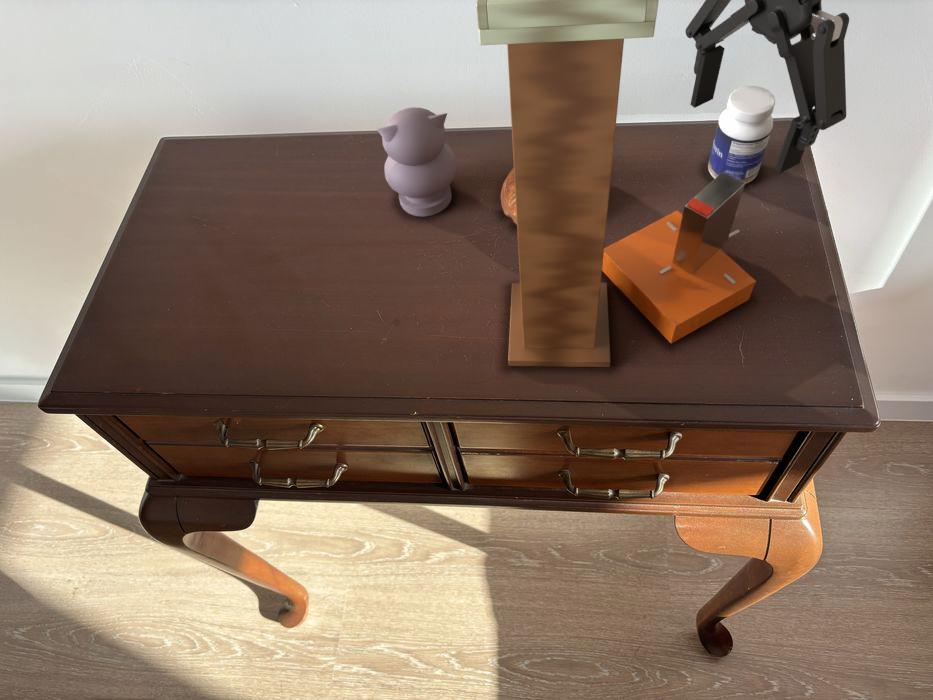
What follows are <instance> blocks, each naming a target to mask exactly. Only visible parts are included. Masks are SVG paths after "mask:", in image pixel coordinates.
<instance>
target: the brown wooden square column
mask: <svg viewBox="0 0 933 700" xmlns="http://www.w3.org/2000/svg"><path fill="white" fill-rule="evenodd" d="M475 7H476V17H477V28H478V40H479V45H480V46H497V45H498V46H499V45H506V47H507V49H506V50H507V66H508V67H507V68H508V84H509V85H508V86H509V105H510V116H511V117H510V121H511V122H510V123H511V139H512V156H513V157H512V158H513V168H514V178H515V197H516V215H517V225H516V228H517V229H516V231H517V232H516V233H517V248H518V251H517V252H518V268H519V269H518V270H519V282H512V283H511V299H510V315H509V316H510V321H509V334H508V335H509V337H508V338H509V339H508V357H507V363H508V366H509V367H567V368H568V367H569V368H570V367H573V368H574V367H575V368H578V367H579V368H589V367H590V368H610V367H611V344H610V343H611V341H610V322H609V301H608V300H609V298H608V282H602V275H603V274H602V273H603V271H602V265H603V255H604V248H605V245H606V244H605V243H606V234H607V233H606V232H607V222H608V211H609V202H610V201H609V200H610V191H611V182H612V181H611V180H612V170H613V161H614V160H613V159H614V150H615V149H614V148H615V138H616V137H615V136H616V127H617V118H618V108H619V107H618V106H619V95H620V85H621V75H622V63H623V55H624V54H623V53H624V43H625V40H626V39H645V38H646V39H647V38H653V37H654V36H655V31H656V22H657V16H658V9H659V0H476V5H475Z"/></svg>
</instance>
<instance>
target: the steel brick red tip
mask: <svg viewBox="0 0 933 700" xmlns="http://www.w3.org/2000/svg"><path fill="white" fill-rule="evenodd" d="M745 185H746V184H745V183H743V182H741V181H739V180H737V179H736V178H734V177H732V176H730V175H728V174H726V173H724V172H722V173H721V174H720V175H719V176H717V177H716V178H715V179H714V178H713V180H712V181H710V182H709V183H708V184H707V185H706V186H705V187H704V188H703V189H702V190H701V191H700V192H698V193H697V194H696V195H695V196H694V197H693V198H692V199H690V200H689V201H688V202H687V203H686V204H685V205H684V207H683V212H682V215H683V216H682V220H681V225H680V230H679V234H678V239H677V243H676V248H675V252H674V257H673V261H672V263H674V264H675V265H677V266H679V267H680V268H682V269H684V270H685V271H687V272H689V273H690V274H692V275H693V274H694V273H695V272H696V271H697V270H698V269H699V268H700V267H701V266H702V265H703V264H704V263H705V262H706V261H707V260H708V259H709V258H710V257H711V256H713V255H714V254H715V253H716V252H717V251H718V250H719V249H721V248H722V247H723V246H724V245H725V244H726V243H727V242H728V241H729V238H728V237H729V234H730V233H731V230H732V228H733V225H734V222H735V218H736V213H737V211H738V208H739V204H740V201H741V198H742V194H743V192H744V188H745Z"/></svg>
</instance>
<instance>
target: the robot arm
mask: <svg viewBox="0 0 933 700" xmlns="http://www.w3.org/2000/svg"><path fill="white" fill-rule="evenodd" d="M731 1H732V0H705V1H704V2H703V3H702V5H701V6H700V8H699V9H698V11H697V12H696V13H695V15H694V17H693V18H692V19H691V21H690V22H689V24H688V25H687V26H686V28H685V35H686V38H688V39H693V40H694V41H695V45H694V46H695V49H696V55H695V61H694V66H693V73H694V74H695V79H694V84H693V89H692V94H691V99H690V104H689V105H690V106H692V108H694V109H695V108H697V107H699V106H702V105H704V104H705V103H708V102H710V101H712V100H714V97H715V93H716V88H717V83H718V79H719V75H720V74H719V73H720V71H721V67H722V66H721V65H722V61H723V58H724V53H725V47H724V46H722V45H721V44H719V43H721V42H724V41H725V39H727V38H728V37H729V36H731V35H733V34H734V33H736V32H737V31H739V30H740V29H742V28H743V27H745V26H746V25H747V24H750V26H751V31H752V32H754V33H755V34H758V35H761V36H763V37H764V38H765V39H766V40H767V41H768V42H770V43H771V44H773V45H775V46H776V48H777V53H778V55H779V57H781V58H782V59H784V60H785V65H786V69H787V73H788V76H789V81H790V85H791V88H792V92H793V96H794V99H795V104H796V107H797V112H798V116H796V117H794V118H792V119H791V122H790V125H789V127H788V131H787V133H786V137H785V140H784V141H783V145H782V148H781V151H780V154H779V156H778V159H777V162H776V165H775V168H774V171H776V172H777V173H778V174H782V173H784V172H786V171H788V170H790V169H792V168H793V167H795V166H797V165H799V164H800V163H801V160H802V158H803V155H804V152H805V150H806V149H807V148H810V147H811V146H813V145H814V144H815V143H816V140H817V138H818V135H819V132H820V131H825V130H827V129H829V128H831V127H834V126H835V125H837V124H838V123H841V122H842V121H844V120H846V118H847V92H846V91H847V90H846V88H847V87H846V86H847V85H846V58H845V57H846V56H845V55H846V53H845V38H846V35H847V31H848V28H849V24H850V16H849V15H848V13H846V12H841V13H839V14H836V15H833V14H830V13H828V12H826V11H824V10H823V8H822V7H823V6H822V0H744V5H743V6H742V7H740V8H739V9H737V10H736V11H735V12H733V13H731V14H730V16H729V17H728V18H726V19H725V20H724V21H722V22H721V23H720V24H718V25H716V26H715V27H714V28H712V26H713V25H714V24H715V23H716V22H717V20H718V19H719V17H720V16H721V15H722V13H723V12H724V10H725V9H726V8H727V7H728V5H729V4H730V3H731ZM711 28H712V29H711ZM799 35H800V40H799V41H797V42H795V43H793V44H792V42H791V40H793V39H795V38H796V37H797V36H799ZM717 44H719V45H717Z"/></svg>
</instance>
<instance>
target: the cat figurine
mask: <svg viewBox="0 0 933 700" xmlns="http://www.w3.org/2000/svg"><path fill="white" fill-rule="evenodd" d="M447 116H448V112H446V113H439V114H437V113H435V112H433V111H431V110H429V109H427V108H423V107H415V106H413V107H407V108H403V109H400V110H398V111H397V112H395V113H394V114H393V115H392V116H391V117H390V118H389V119H388V120H387V121H386V122H385V125H384V127H380V128H376V131H377V132H378V133H379V135H380V136H381V139H382V140H381V141H382V146H383V149H384V151H385V152H386V154H387V157H386V160H385V162H384V166H383V167H384V178H385V180H386V182H387V184H388V186H389V187H390V188H391V190H393V191H394V192H395V193H398V199H399V200H398V201H399V203H400V206H401V208H402V210H403V211H405V212H406V213H407V214H409V215H412V216H414V217H423V218H424V217H429V216H430V217H431V216H434V215H436V214H439V213H441V212H442V211H444V210H446V209H447V207H448V206H449V205H450V203H451V201H452V198H453V196H452V189H451V183H452V182H453V180H454V178H455V175H456V173H457V169H458V165H457V164H458V163H457V158H456V154H455V153H454V152H453V150H452V149H451V147H450V146H449V145H448V144H447V143H446V140H447V135H446V128H445V123H446V120H447Z"/></svg>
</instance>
